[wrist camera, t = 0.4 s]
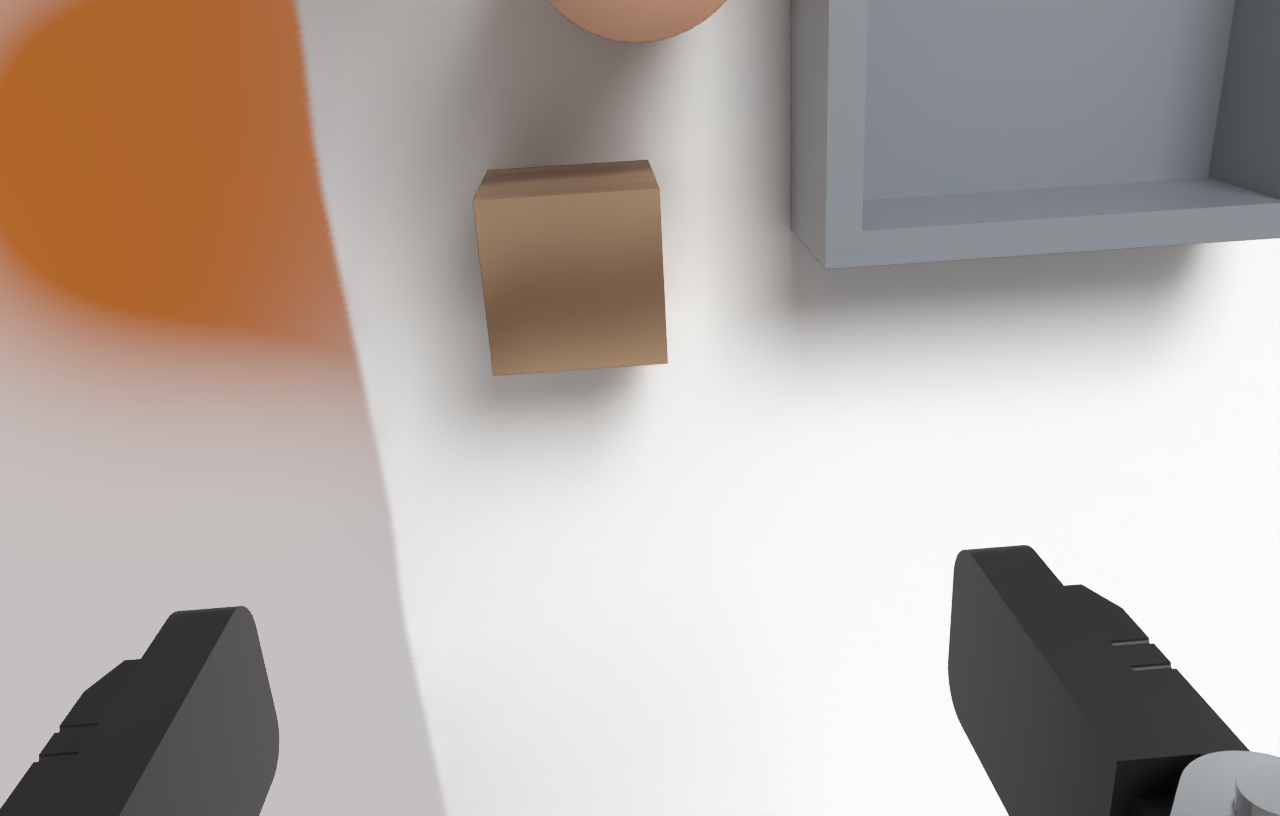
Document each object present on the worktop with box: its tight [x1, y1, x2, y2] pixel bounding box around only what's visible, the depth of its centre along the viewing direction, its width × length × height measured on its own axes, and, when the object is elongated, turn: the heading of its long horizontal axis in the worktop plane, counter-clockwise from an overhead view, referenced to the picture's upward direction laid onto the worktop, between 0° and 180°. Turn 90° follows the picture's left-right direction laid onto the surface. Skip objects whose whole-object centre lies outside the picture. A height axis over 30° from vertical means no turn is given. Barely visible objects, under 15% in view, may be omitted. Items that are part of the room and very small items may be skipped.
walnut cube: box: [473, 160, 668, 376], centre depth 31 cm, size 5×5×5 cm
